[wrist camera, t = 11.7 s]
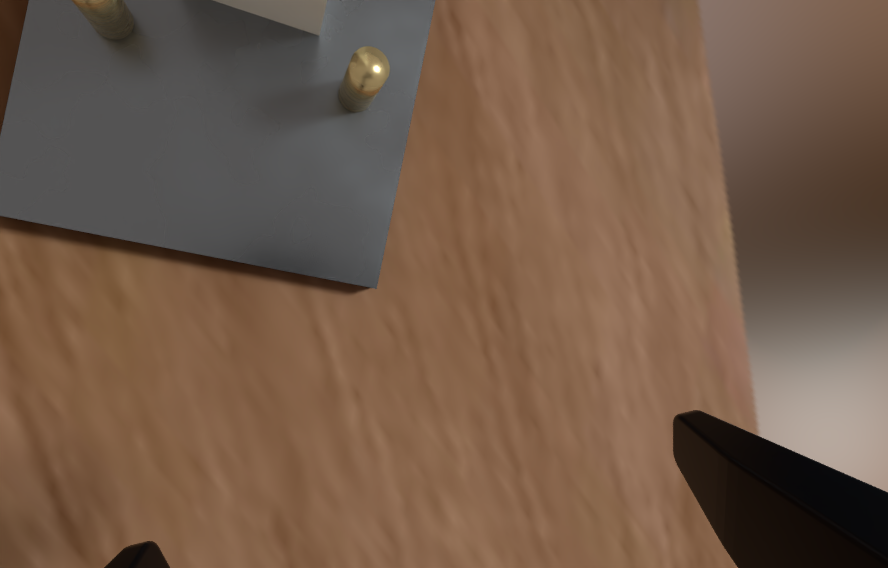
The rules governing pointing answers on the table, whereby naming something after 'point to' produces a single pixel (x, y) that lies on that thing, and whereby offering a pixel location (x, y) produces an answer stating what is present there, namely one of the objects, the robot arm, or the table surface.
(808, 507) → the robot arm
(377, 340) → the table surface
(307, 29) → the block
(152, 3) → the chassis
